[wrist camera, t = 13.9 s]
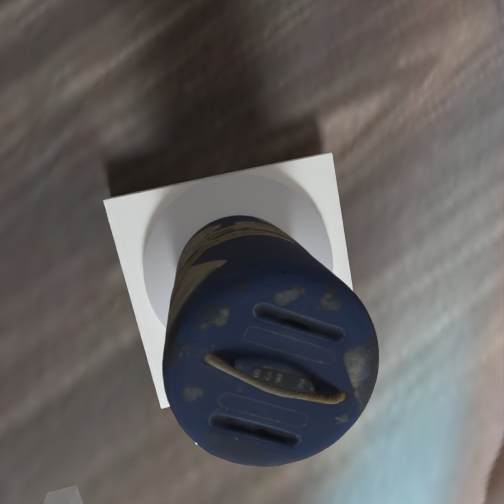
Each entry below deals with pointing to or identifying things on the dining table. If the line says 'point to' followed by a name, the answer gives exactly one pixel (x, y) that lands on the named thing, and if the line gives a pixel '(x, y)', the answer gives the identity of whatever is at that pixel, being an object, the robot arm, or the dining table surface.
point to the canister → (264, 346)
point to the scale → (210, 209)
